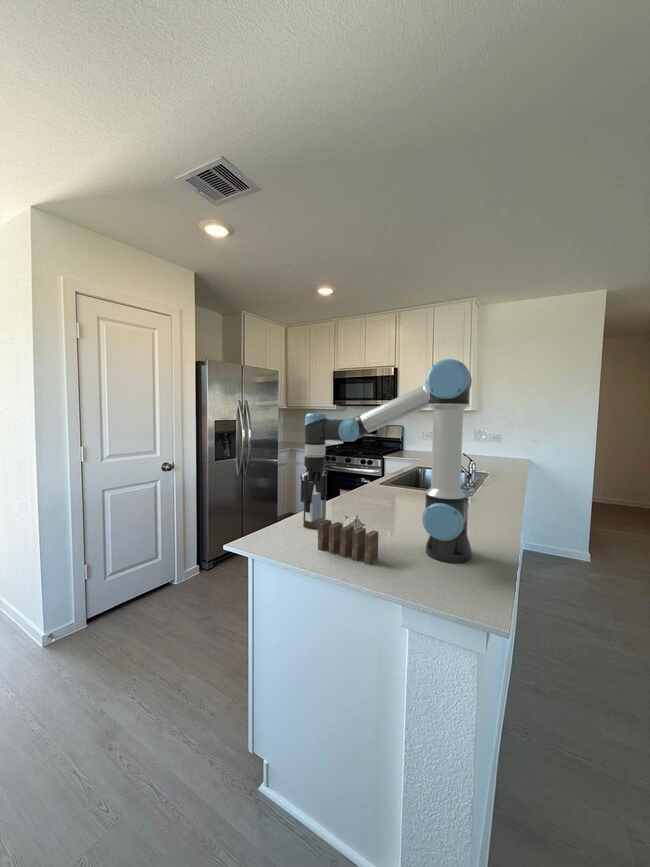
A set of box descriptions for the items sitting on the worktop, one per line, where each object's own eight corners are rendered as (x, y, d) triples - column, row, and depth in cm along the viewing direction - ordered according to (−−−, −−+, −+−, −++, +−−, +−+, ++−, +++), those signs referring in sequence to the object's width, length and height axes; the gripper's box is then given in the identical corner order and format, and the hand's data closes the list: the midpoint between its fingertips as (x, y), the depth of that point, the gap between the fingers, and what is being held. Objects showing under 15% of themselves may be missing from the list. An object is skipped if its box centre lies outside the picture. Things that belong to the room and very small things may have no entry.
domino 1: (320, 518, 133) (320, 492, 132) (311, 521, 129) (311, 495, 128) (316, 517, 134) (316, 492, 134) (307, 520, 130) (307, 494, 130)
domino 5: (365, 556, 122) (365, 528, 121) (357, 561, 118) (357, 532, 117) (360, 554, 123) (360, 527, 123) (352, 559, 119) (352, 531, 119)
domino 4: (353, 552, 125) (353, 525, 124) (345, 557, 121) (345, 529, 120) (348, 551, 126) (348, 524, 126) (340, 556, 122) (340, 528, 121)
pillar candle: (300, 528, 151) (300, 492, 150) (306, 521, 161) (307, 488, 160) (322, 530, 149) (323, 494, 148) (328, 523, 158) (328, 489, 157)
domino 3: (341, 549, 128) (342, 523, 127) (333, 554, 124) (333, 526, 123) (337, 548, 129) (337, 522, 128) (328, 552, 125) (329, 525, 124)
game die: (356, 546, 141) (363, 531, 135) (336, 537, 142) (342, 522, 136) (362, 529, 148) (369, 514, 141) (343, 521, 149) (349, 506, 143)
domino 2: (330, 546, 131) (331, 520, 130) (322, 550, 126) (322, 524, 126) (326, 545, 132) (326, 519, 131) (317, 549, 128) (318, 522, 127)
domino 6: (377, 559, 119) (378, 531, 119) (370, 565, 115) (370, 535, 114) (372, 558, 120) (373, 530, 120) (364, 563, 116) (365, 534, 116)
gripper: (321, 453, 140) (320, 511, 141) (290, 457, 125) (289, 522, 127) (337, 454, 135) (336, 515, 137) (306, 459, 121) (305, 527, 122)
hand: (313, 518), depth 132 cm, fingers closed on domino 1, 5 cm apart
